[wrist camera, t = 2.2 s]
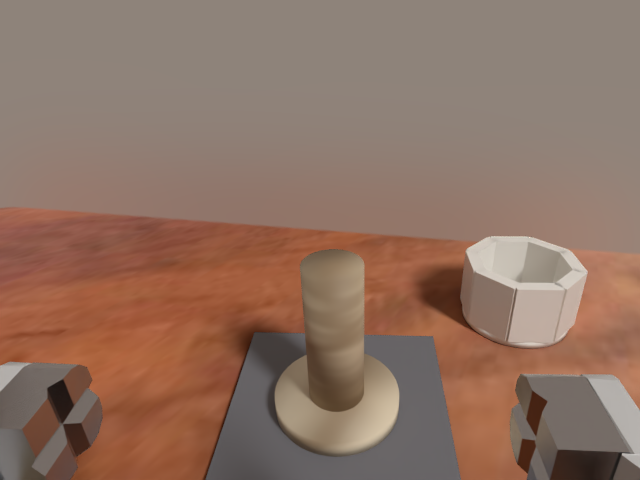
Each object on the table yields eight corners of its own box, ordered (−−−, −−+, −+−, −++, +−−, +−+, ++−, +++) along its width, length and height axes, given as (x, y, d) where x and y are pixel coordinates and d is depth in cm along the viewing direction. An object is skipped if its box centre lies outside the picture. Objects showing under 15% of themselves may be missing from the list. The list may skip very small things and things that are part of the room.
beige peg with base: (265, 453, 23) (244, 306, 19) (286, 359, 29) (273, 232, 25) (402, 460, 23) (411, 309, 18) (395, 362, 29) (400, 232, 24)
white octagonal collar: (472, 347, 30) (480, 289, 28) (454, 287, 36) (460, 236, 34) (585, 350, 29) (603, 290, 27) (547, 288, 36) (559, 236, 33)
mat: (200, 505, 21) (198, 500, 21) (255, 336, 32) (254, 332, 32) (467, 521, 20) (468, 516, 20) (432, 341, 31) (432, 336, 31)
